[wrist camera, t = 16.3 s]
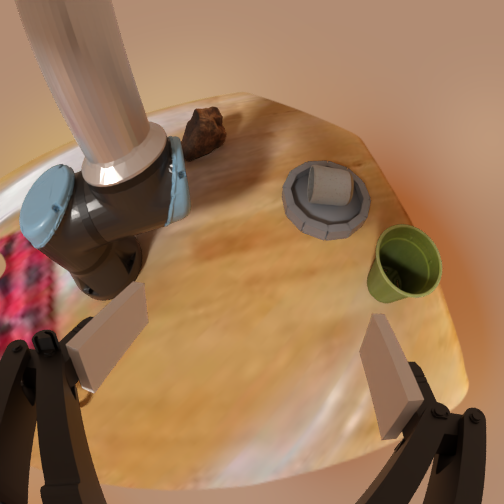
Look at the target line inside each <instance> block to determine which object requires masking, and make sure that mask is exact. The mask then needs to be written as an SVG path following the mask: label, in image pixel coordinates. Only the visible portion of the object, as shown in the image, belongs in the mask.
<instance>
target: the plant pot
mask: <svg viewBox="0 0 504 504" xmlns="http://www.w3.org/2000/svg"><path fill="white" fill-rule="evenodd" d="M383 269H385V270H387V272H385V271H383ZM441 275H442V261H441V257H440V253H439V251H438V249H437V247H436V245H435V244H434V242H433V241H432V240H431V238H430V237H428V235H426V234H425V233H424V232H423V231H421V230H420V229H418V228H416V227H414V226H410V225H406V224H398V225H394V226H391V227H389V228H387V229H386V230H385V231H384V232H383V233H382V234H381V236H380V237H379V239H378V242H377V246H376V258H375V261H374V263H373V265H372V268H371V270H370V272H369V275H368V278H367V286H368V290H369V292H370V294H371V295H372V296H373V297H374V298H375V299H376V300H378V301H379V302H382V303H391V302H394V301H398V300H401V299H404V298H407V297H413V298H419V297H424V296H426V295H429V294H430V293H432V292H433V291H434V290H435V289H436V287H437V286H438V284H439V282H440V279H441ZM396 280H398V283H399V288H397V281H396Z"/></svg>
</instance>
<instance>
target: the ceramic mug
mask: <svg viewBox="0 0 504 504" xmlns="http://www.w3.org/2000/svg"><path fill="white" fill-rule="evenodd" d="M353 190H354V181H353V176H352V174H351V173H350V172H348V171H345V170H342V169H336V168H330V167H325V166H319V165H312V166H311V169H310V172H309V178H308V192H307V195H308V202H309V203H311V204H324V205H335V206H345V205H347V204H349V203H350V201H351V199H352V196H353Z"/></svg>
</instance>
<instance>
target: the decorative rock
mask: <svg viewBox="0 0 504 504" xmlns="http://www.w3.org/2000/svg"><path fill="white" fill-rule="evenodd" d="M225 139H226V132H225V128H224V127H223V125H222V115H221V113H220V111H219V110H218V108H216V107H210V108H204V109H195V110H194V113H193V116H192V118H191V120H190V121H188V123H187V126H186V129H185V133H184V136H183V139H182V141H181V146H182V151H183V156H184V159H186V160H187V161H191V160H192V159H194V158H198V157H200V156H203V155H205V154H209V153H210V152H211V151H212V150H213V149H214V148H217V147H219V146H221V145H223V143H224V142H225Z"/></svg>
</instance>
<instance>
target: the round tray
mask: <svg viewBox="0 0 504 504" xmlns="http://www.w3.org/2000/svg"><path fill="white" fill-rule="evenodd" d="M312 165H319V166H325V167H330V168H336V169H342V170H345V171H348V172H350V173H351V174H352V176H353V181H354V190H353V196H352V199H351V201H350V203H349V204H347V205H345V206H335V205H324V204H311V203H309V202H308V195H307V192H308V178H309V172H310V169H311V166H312ZM282 200H283V205H284V209H285V214H286V216H287V217H288V218H289V219H290V220H291V221H292V222H293V224H294V225H295V226H296V227H297V228H298V229H299V230H300V231H303V233H305V234H308V235H311V236H313V237H316V238H319V239H322V240H324V239H325V240H335V239H344V238H347V237H349V236H351V235H352V234H353V233H354V232H355V231H357V230H358V229H359V228H360V227H362V225H363V224H364V222H365V220H366V218H367V216H368V212H369V207H370V202H371V200H370V196H369V193H368V191H367V189H366V186H365V184H364V183H363V181H362V180H361V179H360V178H359V177H358V176H357V175H356V174H354V173H353V172H352V171H351V170H350V169H349V168H348V169H347V167H344V166H341V165H339V164H336V163H333V162H330V161H328V163H327V161H309V162H305V163H304V164H302V165H300V166H298V167H296V168H295V169H293V170H291V172H290V173H289V175H288V177H287V179H286V181H285V183H284V185H283V191H282Z"/></svg>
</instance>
